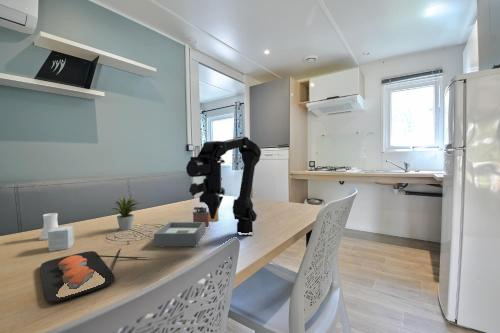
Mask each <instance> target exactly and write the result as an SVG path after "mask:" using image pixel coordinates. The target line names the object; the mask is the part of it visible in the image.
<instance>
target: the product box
mask: <svg viewBox="0 0 500 333" xmlns="http://www.w3.org/2000/svg"><path fill="white" fill-rule="evenodd" d="M74 238H75V236H74V225H67V226H65V225H64V226H58V227H54V228H53V229H52V230H50V231H49V232H48V240H47V244H48V251H49V252H55V251H61V250H69V248H71V247H72V246H73V244H74V243H75V242H74V241H75V240H74Z"/></svg>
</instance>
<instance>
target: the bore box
mask: <svg viewBox="0 0 500 333" xmlns="http://www.w3.org/2000/svg"><path fill="white" fill-rule="evenodd" d="M204 233H205V234H206V228H205V222H193V221H177V222H176V221H169V222H168V223H166V224H165V225H164V226H162V227H161V228H160V229H159V230H157V231H156V232H154V233H153V245H154V246H196V245H197V244H198V245H199V243H200V242H201V240H202V239H203V237H204V236H205V234H204ZM203 235H204V236H203ZM202 236H203V237H202ZM201 238H202V239H201ZM200 239H201V240H200ZM199 241H200V242H199ZM198 242H199V243H198ZM198 245H197V246H198ZM154 246H153V247H154ZM197 246H196V247H197Z"/></svg>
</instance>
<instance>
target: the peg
mask: <svg viewBox="0 0 500 333" xmlns="http://www.w3.org/2000/svg"><path fill="white" fill-rule="evenodd" d="M218 221H219V209H217V212H216V215H215V218H214V219H211V217H210V213H209V223H216V222H218Z"/></svg>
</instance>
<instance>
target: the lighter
mask: <svg viewBox="0 0 500 333" xmlns="http://www.w3.org/2000/svg"><path fill="white" fill-rule="evenodd" d="M207 208H208V207H204V206H195V207H193V212H192V222H205V227H208V226H209V227H210V222H209V211H207V210H208V209H207Z"/></svg>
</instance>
